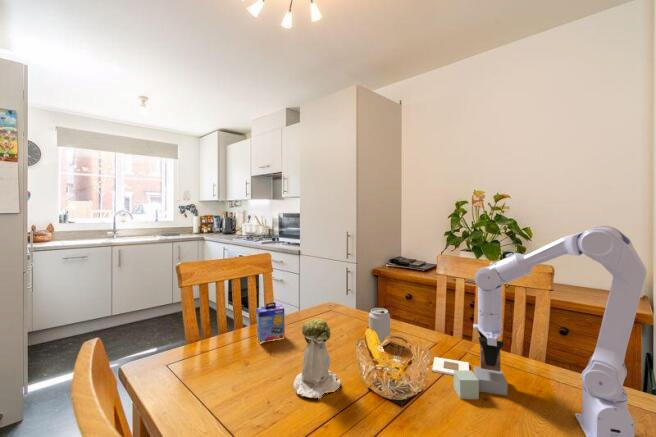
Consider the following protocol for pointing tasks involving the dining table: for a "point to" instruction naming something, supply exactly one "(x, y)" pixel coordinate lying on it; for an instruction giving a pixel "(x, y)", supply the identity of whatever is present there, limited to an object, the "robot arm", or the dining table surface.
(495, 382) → the slate plinth
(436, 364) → the plaque
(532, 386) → the dining table surface
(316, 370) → the grey statuette
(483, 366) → the walnut block
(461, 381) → the grey-green block
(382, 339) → the can
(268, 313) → the ink cartridge box
